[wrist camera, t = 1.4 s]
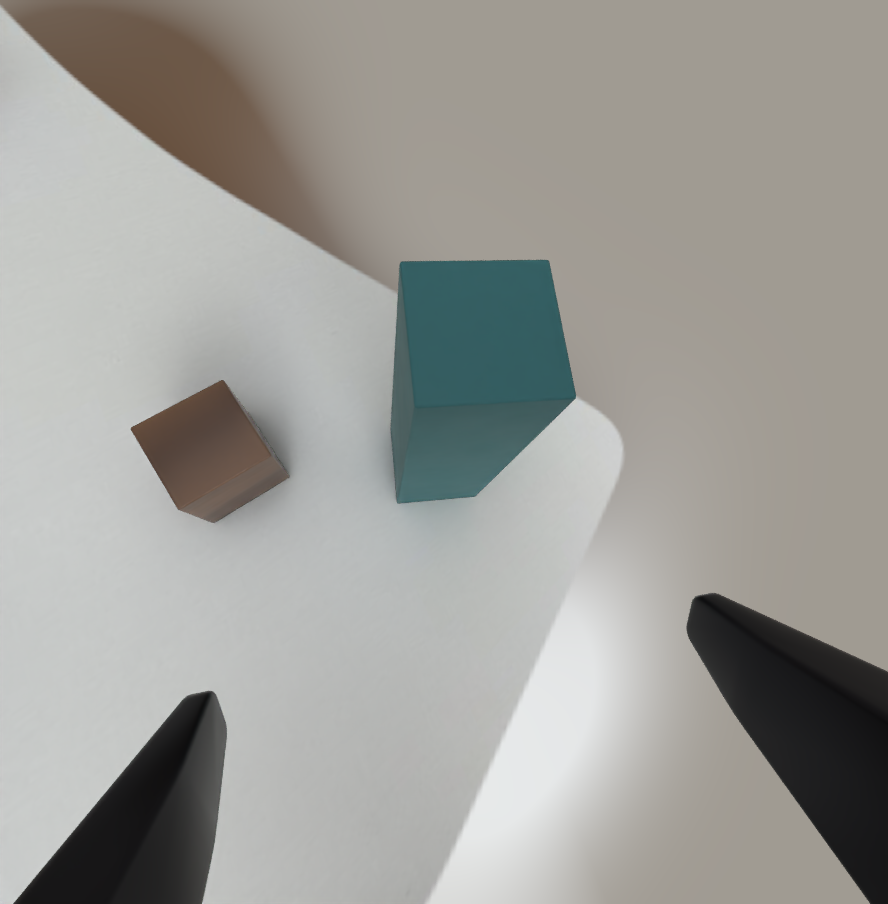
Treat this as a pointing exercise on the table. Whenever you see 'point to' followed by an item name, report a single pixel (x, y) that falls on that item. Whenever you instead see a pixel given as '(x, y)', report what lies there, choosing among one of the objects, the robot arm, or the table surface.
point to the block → (209, 453)
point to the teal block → (473, 372)
